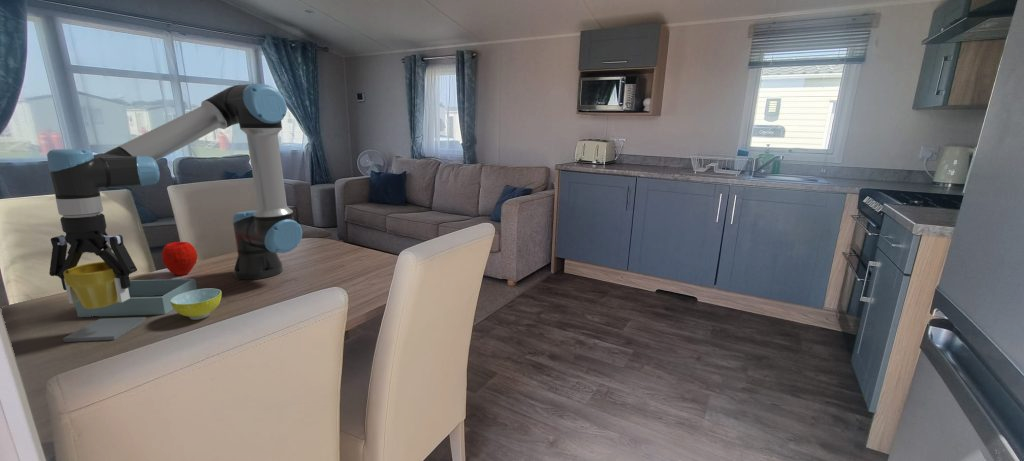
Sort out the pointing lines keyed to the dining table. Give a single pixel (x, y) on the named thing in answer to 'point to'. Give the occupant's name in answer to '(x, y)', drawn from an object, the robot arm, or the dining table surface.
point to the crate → (143, 298)
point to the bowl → (197, 302)
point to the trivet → (105, 329)
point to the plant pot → (93, 284)
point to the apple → (179, 257)
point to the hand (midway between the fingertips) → (100, 301)
